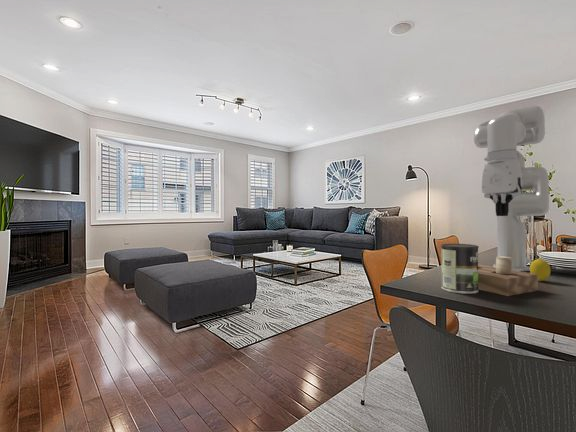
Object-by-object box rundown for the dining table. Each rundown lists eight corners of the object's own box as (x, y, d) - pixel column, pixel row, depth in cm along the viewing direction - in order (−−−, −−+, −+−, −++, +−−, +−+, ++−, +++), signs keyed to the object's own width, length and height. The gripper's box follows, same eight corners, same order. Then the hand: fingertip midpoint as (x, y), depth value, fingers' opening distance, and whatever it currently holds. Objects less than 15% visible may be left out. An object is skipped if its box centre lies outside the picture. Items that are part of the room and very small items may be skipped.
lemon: (554, 283, 101) (554, 259, 101) (535, 282, 102) (535, 259, 102) (544, 279, 106) (544, 257, 106) (526, 279, 107) (526, 256, 107)
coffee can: (482, 289, 95) (481, 244, 95) (474, 296, 88) (473, 247, 88) (446, 284, 102) (446, 242, 102) (436, 290, 95) (436, 245, 95)
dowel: (501, 286, 98) (501, 256, 97) (514, 289, 94) (514, 257, 94) (492, 288, 96) (492, 256, 96) (506, 291, 92) (506, 258, 92)
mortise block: (470, 276, 113) (470, 260, 113) (537, 290, 92) (537, 271, 92) (443, 280, 108) (443, 263, 108) (507, 296, 87) (507, 275, 87)
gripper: (471, 161, 101) (471, 215, 101) (519, 153, 87) (520, 216, 88) (486, 162, 104) (486, 215, 104) (535, 154, 90) (536, 215, 90)
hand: (502, 215), depth 96 cm, fingers closed
